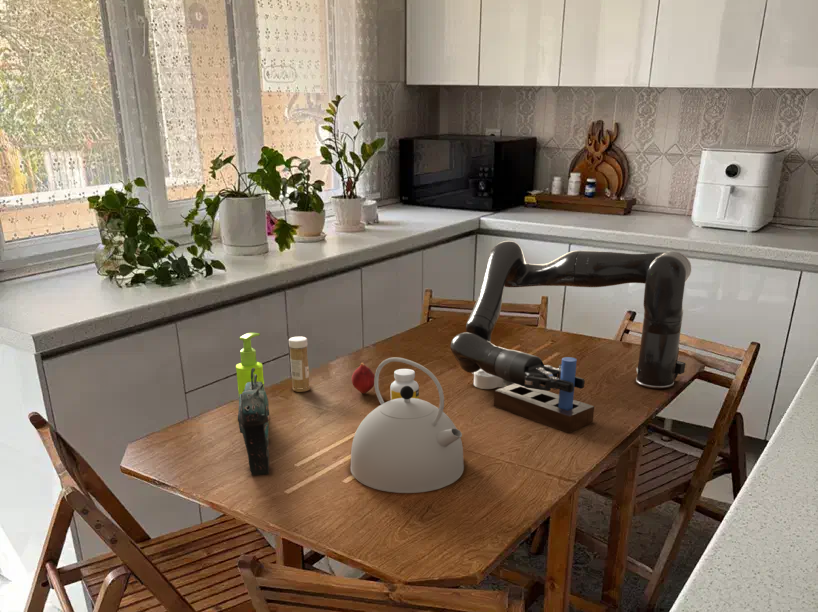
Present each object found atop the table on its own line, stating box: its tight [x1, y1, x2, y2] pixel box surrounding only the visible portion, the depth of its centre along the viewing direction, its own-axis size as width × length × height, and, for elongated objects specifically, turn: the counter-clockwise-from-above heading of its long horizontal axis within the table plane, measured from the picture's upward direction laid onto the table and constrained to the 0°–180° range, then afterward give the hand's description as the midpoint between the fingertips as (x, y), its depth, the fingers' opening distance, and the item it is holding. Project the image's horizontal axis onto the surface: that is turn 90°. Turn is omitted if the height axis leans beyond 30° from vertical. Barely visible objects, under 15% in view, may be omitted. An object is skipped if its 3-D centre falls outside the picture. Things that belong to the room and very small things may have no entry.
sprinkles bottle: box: [288, 335, 311, 393], centre depth 196 cm, size 5×5×13 cm
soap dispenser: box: [235, 331, 265, 396], centre depth 177 cm, size 6×7×20 cm
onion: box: [351, 362, 375, 395], centre depth 194 cm, size 6×6×8 cm
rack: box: [493, 384, 595, 434], centre depth 182 cm, size 9×22×4 cm, turn 42°
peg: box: [558, 356, 578, 411], centre depth 175 cm, size 3×3×15 cm
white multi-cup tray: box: [471, 369, 515, 390], centre depth 204 cm, size 3×18×15 cm
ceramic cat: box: [237, 368, 271, 476], centre depth 157 cm, size 20×6×20 cm, turn 9°
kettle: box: [350, 356, 465, 494], centre depth 152 cm, size 25×23×22 cm
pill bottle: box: [389, 368, 420, 400], centre depth 177 cm, size 6×6×12 cm
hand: (577, 386), depth 172 cm, fingers closed on peg, 3 cm apart
